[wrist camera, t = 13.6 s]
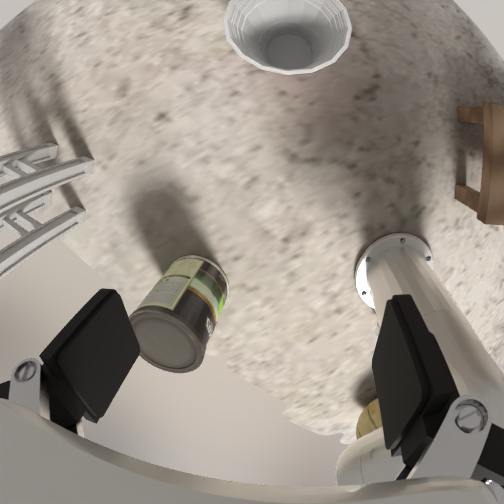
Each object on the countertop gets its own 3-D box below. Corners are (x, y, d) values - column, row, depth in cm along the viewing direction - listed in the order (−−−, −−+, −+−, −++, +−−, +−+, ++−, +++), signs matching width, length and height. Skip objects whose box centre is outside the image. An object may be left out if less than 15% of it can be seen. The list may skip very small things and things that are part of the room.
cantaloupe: (364, 422, 55) (368, 474, 42) (344, 396, 51) (348, 457, 38) (420, 401, 50) (432, 453, 37) (410, 370, 46) (427, 431, 33)
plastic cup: (353, 58, 26) (379, 30, 16) (289, 108, 31) (286, 100, 20) (291, 2, 24) (287, -44, 13) (228, 51, 28) (197, 22, 18)
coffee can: (238, 270, 41) (213, 335, 29) (218, 319, 46) (193, 383, 34) (174, 243, 41) (127, 296, 29) (162, 294, 46) (123, 351, 33)
